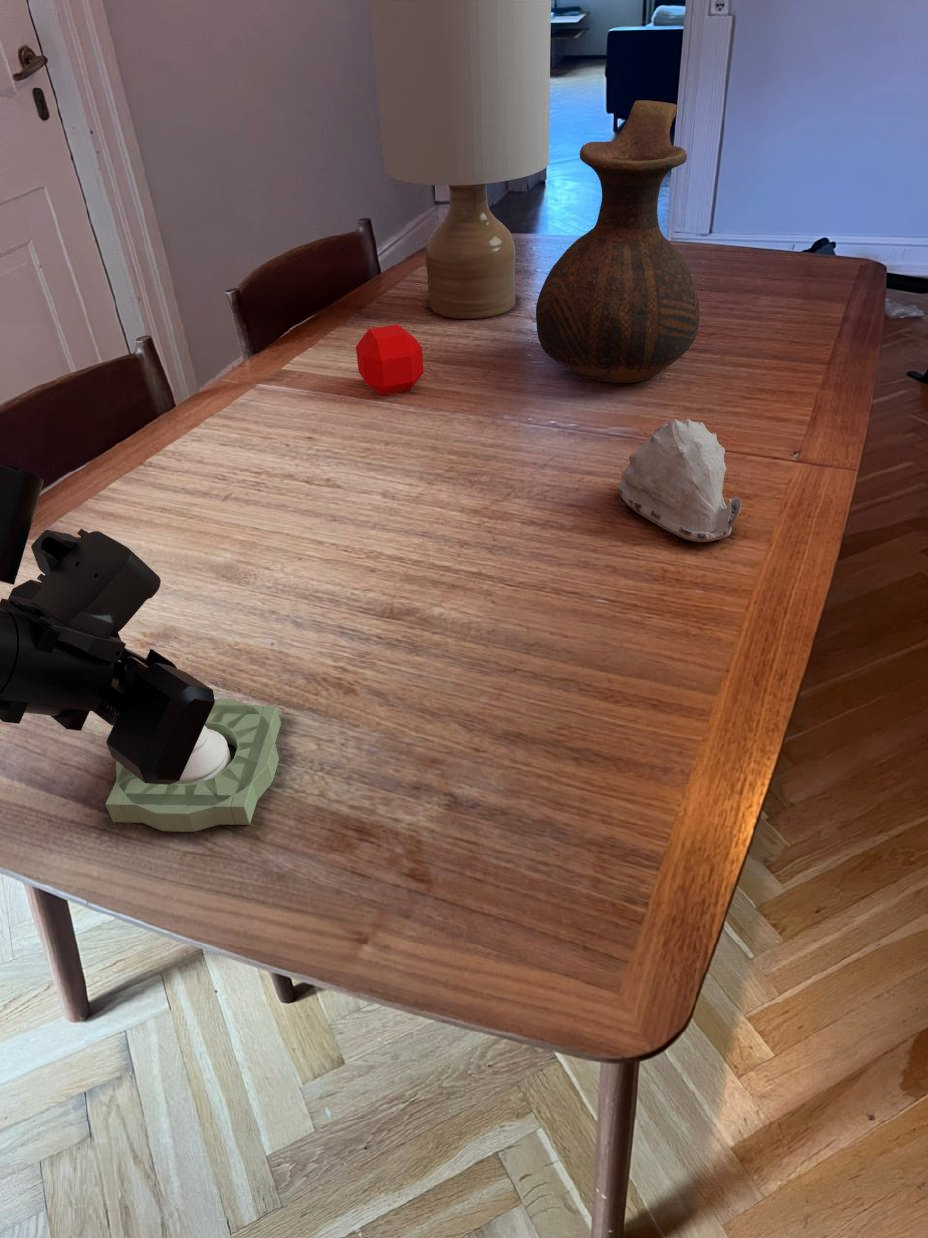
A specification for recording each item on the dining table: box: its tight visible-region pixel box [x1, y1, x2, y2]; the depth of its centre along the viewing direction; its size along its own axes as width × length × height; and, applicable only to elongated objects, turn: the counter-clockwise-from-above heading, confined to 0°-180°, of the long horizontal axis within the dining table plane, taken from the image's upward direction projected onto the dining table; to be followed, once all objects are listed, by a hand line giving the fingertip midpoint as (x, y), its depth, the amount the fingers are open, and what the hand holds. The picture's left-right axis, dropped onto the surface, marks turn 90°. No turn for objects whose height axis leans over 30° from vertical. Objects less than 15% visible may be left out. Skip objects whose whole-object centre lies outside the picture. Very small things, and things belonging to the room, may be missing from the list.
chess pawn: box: [174, 725, 232, 784], centre depth 63 cm, size 5×5×9 cm
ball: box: [355, 323, 425, 396], centre depth 117 cm, size 8×8×8 cm
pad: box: [105, 698, 282, 833], centre depth 66 cm, size 11×11×2 cm
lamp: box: [368, 0, 552, 320], centre depth 129 cm, size 24×24×42 cm
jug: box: [535, 99, 701, 384], centre depth 112 cm, size 22×22×30 cm
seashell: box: [616, 417, 742, 543], centre depth 89 cm, size 12×14×10 cm
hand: (192, 692), depth 63 cm, fingers closed on chess pawn, 3 cm apart
